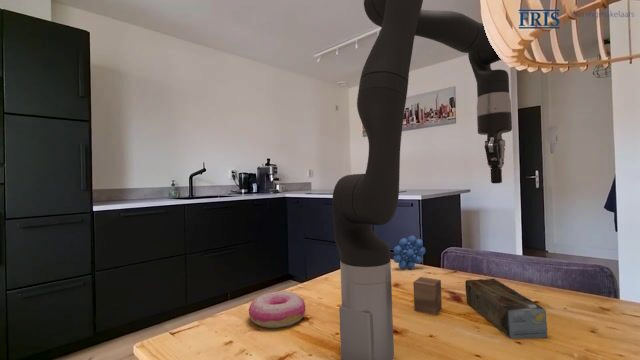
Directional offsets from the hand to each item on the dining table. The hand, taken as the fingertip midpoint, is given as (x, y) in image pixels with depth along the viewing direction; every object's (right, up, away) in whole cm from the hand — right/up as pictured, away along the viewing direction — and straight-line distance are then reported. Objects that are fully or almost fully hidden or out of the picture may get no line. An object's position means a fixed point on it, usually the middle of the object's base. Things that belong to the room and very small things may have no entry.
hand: (496, 183), depth 78 cm
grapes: (-12, -31, +35) cm, 49 cm away
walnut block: (-17, -31, -1) cm, 36 cm away
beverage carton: (-3, -31, -7) cm, 32 cm away
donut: (-54, -33, -3) cm, 63 cm away
